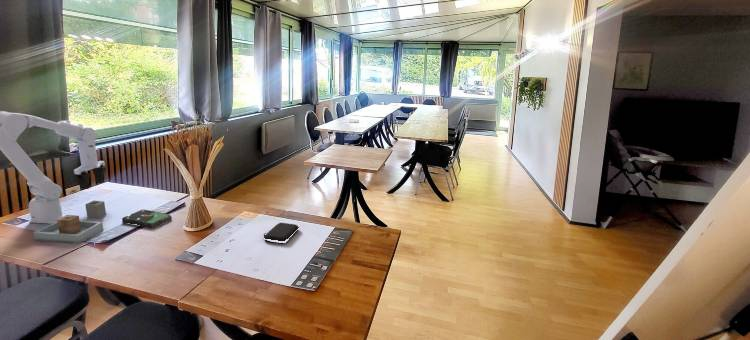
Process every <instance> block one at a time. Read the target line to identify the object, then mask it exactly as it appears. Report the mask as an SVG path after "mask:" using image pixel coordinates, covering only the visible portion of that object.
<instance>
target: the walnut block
mask: <svg viewBox="0 0 750 340" xmlns="http://www.w3.org/2000/svg"><path fill="white" fill-rule="evenodd" d="M65 215H66V216H63V217H61V218H59V219H57V224H58V229H59V233H63V234H76V233H78V232H80V231H81V226H80V221H81V220H80V215H73V214H65Z"/></svg>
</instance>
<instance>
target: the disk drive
mask: <svg viewBox="0 0 750 340" xmlns="http://www.w3.org/2000/svg"><path fill="white" fill-rule="evenodd" d="M172 219H173V218H172V215H171V214H169V213H165V212H159V211H153V210H148V209H140V210H138V211H136V212H133V213H131V214H130V215H126V216H124V217H122V218H121V222H122V223H123V222H124V223H123V224H125V223H130V224H129V225H131V224H137V225H140V226H139V227H142V228H147V229H155V228H157V227H159V226H161V225H163V224H165V223H167V222H170V221H171V220H172Z"/></svg>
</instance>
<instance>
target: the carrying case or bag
mask: <svg viewBox="0 0 750 340" xmlns="http://www.w3.org/2000/svg"><path fill="white" fill-rule="evenodd" d="M298 228H299V229H300V226H299V225H297V224H294V223H287V222H278V223H277V224H276V225H274V227H272V228H271V229H270V230H269V231H268V232H267V233H266V232H265V233H264V234H263V236H264V238H265V239H271V240H278V241H285V240H286V239H288V238H289V237H290V236H291V235H292V234H293V233H294V232H295V231H296V230H297V229H298ZM265 234H266V235H265Z"/></svg>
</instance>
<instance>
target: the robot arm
mask: <svg viewBox="0 0 750 340" xmlns="http://www.w3.org/2000/svg"><path fill="white" fill-rule="evenodd" d="M34 126H35V127H38V128H39V127H40V128H42V129H43V128H44V129H48V130H52V131H54V132H55V134H57V135H58V136H61V137H62V136H63V137H66V138H71V139H75V140H77V145H78V147H77V148H78V152H79V154H78V155H79V159H80V166H78V167H77V168H75V169H73V176H74V177H75V178H76V179H77V180H78V181H79V183H80V185H81V186H82V189H85V190H89V189H90V176H91V172H93V176H94V178H95V182H96V183H97V184H103V180H104V175H105V173H106V170H107V166H105V165H106V163H105V161H104V160H99V161H98V155H97V149H96V139H97V136H98V133H96V131H95V129H93V128H92V127H88V126H84V125H83V124H80V123H79V124H78V123H77V124H76V123H72V122H71V120H68V119H65V120H59V121H57V122H56V121H53V120H49V119H47V118H46V119H45V118H42V117H38V116H35V115H30V114H25V113H18V112H8V111H5V110H0V151H1V153H3V155H4V156H5V157H6V158H7V159H8V160H9V161H10V162H11V164H12V165H13V166H14V167H15V169H16V170H17V171H18V172H19V173H20V174H21V175H22V177H24V179H25V180H26V184H27V186H28V187H29V192H30V193H31V194H32V195H33V196H34V197H33V198H32V199H31V200H30V201H29V203H28V210H29V216H30V220H29V223H34V224H36V223H38V224H49V225H51V224H53V223H55V222H57V219H59V218H61V217H63V216H66V215H67V214H63V210H62V206H61V199H60V197H61V195H62V194H63V193H62V192H63V189H62V187H61V186H60V185H59V184H58V183H54V181H53V180H52V179H50V178H49V177H47V176H46V175H45V174H44V173H43V172H42V170H40V168H39V167H38V166H37V165H36V164H35V163H34V161H33V160H32V159H31V158H30V156H29V155H28V154H27V152H26V151H25V150H24V149H23V148H22V147H21V146H20V144H18V143H19V142H17V140H18V138H19V137H20V135H21V134H23V132H24V131H25V129H26V128H28V129H30V128H32V127H34ZM90 170H91V172H90V173H87V172H88V171H90Z"/></svg>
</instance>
